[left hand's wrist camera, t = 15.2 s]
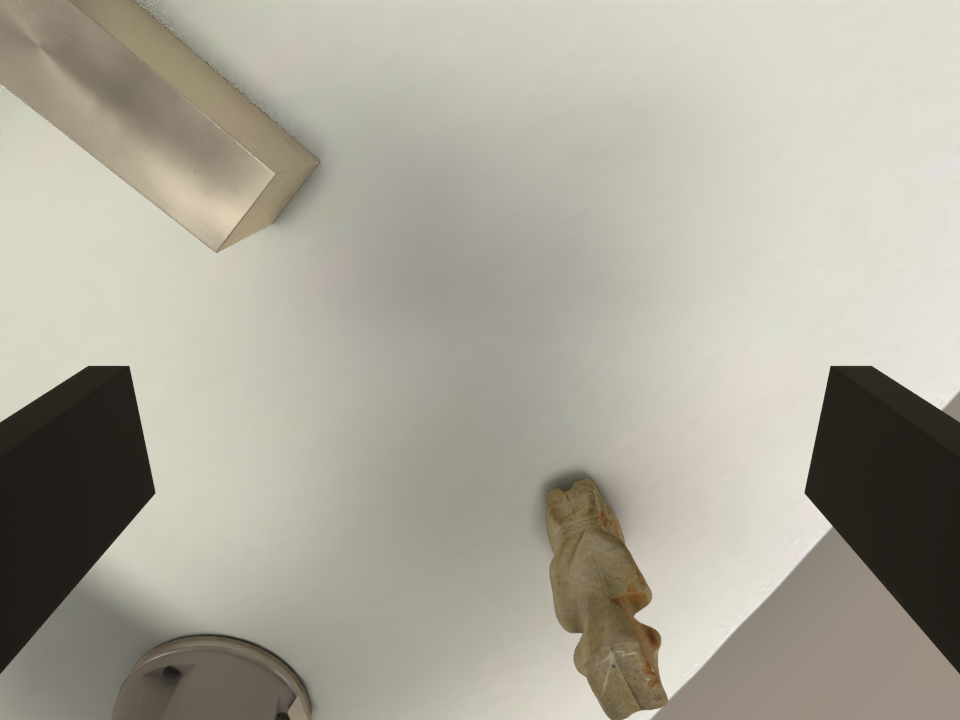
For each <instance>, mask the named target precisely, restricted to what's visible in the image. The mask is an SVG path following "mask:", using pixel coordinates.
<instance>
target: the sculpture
mask: <svg viewBox="0 0 960 720" xmlns="http://www.w3.org/2000/svg"><path fill="white" fill-rule="evenodd" d="M545 498H546V504H547V506H546V527H547V533H548V538H549V542H550V545H551V548H552V550H553V552H554V554H555V556H554V558H553V559H552V562H551V564H550V572H549V573H550V580H551V586H552V591H553V599H554V608H555V613H556V616H557V619H558V621H559V623H560V624H561V626H562V627H563V628H564V629H565V630H566V631H568V632H570V633H583V634H582V637H581V640H580V641H579V643H578V645H577V647H576V649H575V651H574V658H573V659H574V664H575V666H576V669H577V670H578V671H579V673H581V674H582V675H584V676H585V677H587V680H588V683H589V685H590V687H591V689H592V691H593V693H594V694H595V696H596V698H597V699H598V701H599V703H600V705H601V707H602V709H603V711H604V712H605V714H606V715H607V716H608V717H609V718H610V719H611V720H623V719H626V718H628V717H629V716H630V715H631V714H633V713H635V712H637V711H641V710H653V709H658V708H661V707H664V706H665V705H667V704H668V698H667V696H666V693H665V691H664V689H663V686H662V684H661V680H660V675H659V669H658V650H659V648H660V645H661V637H660V634H659V633H658V632H657V631H656V630H655V629H653V628H652V627H649V626H647V625H644V624H642V623H640V622H638V621H637V620H636V619H635V618H634V617H633V616H634V615H635V614H636V613H637V612H638V611H640V610H641V609H643V608H644V607H646V606H647V605H648V604H649V603H650V602H651V599H652V593H651V590H650V588H649V586H648V584H647V583H646V581H645V579H644V577H643V575H642V573H641V572H640V570H639V568H638V567H637V565H636V563H635V561H634V559H633V557H632V555H631V553H630V552H629V550H628V549H627V547H626V546H625V541H624V537H623V533H622V530H621V528H620V525H619V523H618V521H617V520H616V518H615V516H614V515H613V513H612V512H611V510H610V508H609V507H608V505H607V504H606V502H605V501H604V499H603V498H602V497H601V495H600V493H599V492H598V490H597V488H596V487H595V485H594V484H593V482H592V481H591V480H590V479H584V480H580V481H577V482H575V483H573V486H572V488H571V489H570V490H568V491H563V490H562V489H561V488H557V489H554V490H552V491H550V492H548V493H546V495H545Z"/></svg>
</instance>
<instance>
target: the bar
mask: <svg viewBox="0 0 960 720" xmlns="http://www.w3.org/2000/svg"><path fill="white" fill-rule="evenodd" d="M0 83H1V84H2V85H3V86H4V87H6V88H7V89H8V90H9V91H11V92H12V93H13V94H15V95H16V96H17V97H18V98H20V99H21V100H22V101H23V102H25V103H26V104H27V105H29V106H30V107H31V108H32V109H34V110H35V111H36V112H37V113H39V114H40V115H41V116H43V117H44V118H45V119H46V120H48V121H49V122H50V123H51V124H53V125H54V126H55V127H57V128H58V129H59V130H60V131H62V132H63V133H64V134H65V135H67V136H68V137H69V138H71V139H72V140H73V141H74V142H76V143H77V144H78V145H79V146H81V147H82V148H83V149H85V150H86V151H87V152H88V153H90V154H91V155H92V156H93V157H95V158H96V159H97V160H99V161H100V162H101V163H102V164H104V165H105V166H106V167H108V168H109V169H110V170H111V171H113V172H114V173H115V174H116V175H118V176H119V177H120V178H122V179H123V180H124V181H125V182H127V183H128V184H129V185H130V186H132V187H133V188H134V189H136V190H137V191H138V192H139V193H141V194H142V195H143V196H144V197H146V198H147V199H148V200H150V201H151V202H152V203H153V204H155V205H156V206H157V207H158V208H160V209H161V210H162V211H164V212H165V213H166V214H167V215H169V216H170V217H171V218H172V219H174V220H175V221H176V222H178V223H179V224H180V225H181V226H183V227H184V228H185V229H186V230H188V231H189V232H190V233H192V234H193V235H194V236H195V237H197V238H198V239H199V240H200V241H202V242H203V243H204V244H206V245H207V246H208V247H209V248H211V249H212V250H213V251H214V252H216V253H218V252H219V251H221V250H223V249H225V248H227V247H229V246H231V245H233V244H235V243H237V242H239V241H240V240H242V239H244V238H246V237H248V236H250V235H252V234H254V233H256V232H258V231H260V230H262V229H263V228H265V227H267V226H269V225H271V224H272V223H273V222H274V221H275V219H276V218H277V217H278V215H279V214H280V213H281V211H282V210H283V209H284V208H285V206H286V205H287V204H288V202H289V201H290V200H291V199H292V197H293V196H294V195H295V193H296V192H297V191H298V189H299V188H300V187H301V186H302V184H303V183H304V182H305V180H306V179H307V178H308V176H309V175H310V174H311V173H312V171H313V170H314V169H315V167H316V166H317V165H318V163H319V162H320V161H319V160H318V159H317V158H316V157H314V156H313V155H312V154H311V153H310V152H309V151H308V150H306V149H305V148H304V147H303V146H302V145H301V144H299V143H298V142H297V141H296V140H295V139H294V138H292V137H291V136H290V135H289V134H288V133H287V132H286V131H284V130H283V129H282V128H281V127H280V126H279V125H277V124H276V123H275V122H274V121H273V120H272V119H270V118H269V117H268V116H267V115H266V114H265V113H264V112H262V111H261V110H260V109H259V108H258V107H257V106H255V105H254V104H253V103H252V102H251V101H250V100H248V99H247V98H246V97H245V96H244V95H243V94H242V93H240V92H239V91H238V90H237V89H236V88H235V87H233V86H232V85H231V84H230V83H229V82H228V81H226V80H225V79H224V78H223V77H222V76H221V75H220V74H218V73H217V72H216V71H215V70H214V69H213V68H211V67H210V66H209V65H208V64H207V63H206V62H204V61H203V60H202V59H201V58H200V57H199V56H198V55H196V54H195V53H194V52H193V51H192V50H191V49H189V48H188V47H187V46H186V45H185V44H184V43H183V42H181V41H180V40H179V39H178V38H177V37H176V36H174V35H173V34H172V33H171V32H170V31H169V30H167V29H166V28H165V27H164V26H163V25H162V24H161V23H159V22H158V21H157V20H156V19H155V18H154V17H152V16H151V15H150V14H149V13H148V12H147V11H145V10H144V9H143V8H142V7H141V6H140V5H139V4H137V3H136V2H135V1H134V0H0Z"/></svg>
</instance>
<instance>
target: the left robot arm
mask: <svg viewBox="0 0 960 720" xmlns="http://www.w3.org/2000/svg"><path fill="white" fill-rule="evenodd" d="M154 494H155V488H154V483H153V478H152V474H151V469H150V464H149V459H148V454H147V449H146V445H145V440H144V435H143V430H142V425H141V420H140V415H139V411H138V406H137V401H136V396H135V391H134V386H133V382H132V377H131V372H130V367H129V366H88V367H86V368H84V369H83V370H81V371H80V372H78V373H77V374H75V375H74V376H72V377H70V378H69V379H67V380H66V381H64V382H63V383H61V384H60V385H58V386H56V387H55V388H53V389H52V390H50V391H49V392H47V393H45V394H44V395H42V396H41V397H39V398H38V399H36V400H35V401H33V402H31V403H30V404H28V405H27V406H25V407H24V408H22V409H21V410H19V411H17V412H16V413H14V414H13V415H11V416H10V417H8V418H6V419H5V420H3V421H2V422H0V674H1V672H2V671H3V670H4V669H5V668H6V667H7V665H8V664H9V663H10V662H11V661H12V660H13V658H14V657H15V656H16V655H17V654H18V653H19V651H20V650H21V649H22V648H23V647H24V646H25V644H26V643H27V642H28V641H29V640H30V639H31V637H32V636H33V635H34V634H35V633H36V632H37V630H38V629H39V628H40V627H41V626H42V625H43V624H44V622H45V621H46V620H47V619H48V618H49V617H50V615H51V614H52V613H53V612H54V611H55V610H56V608H57V607H58V606H59V605H60V604H61V603H62V601H63V600H64V599H65V598H66V597H67V596H68V594H69V593H70V592H71V591H72V590H73V589H74V587H75V586H76V585H77V584H78V583H79V582H80V580H81V579H82V578H83V577H84V576H85V575H86V573H87V572H88V571H89V570H90V569H91V568H92V566H93V565H94V564H95V563H96V562H97V561H98V559H99V558H100V557H101V556H102V555H103V554H104V552H105V551H106V550H107V549H108V548H109V547H110V545H111V544H112V543H113V542H114V541H115V540H116V538H117V537H118V536H119V535H120V534H121V533H122V531H123V530H124V529H125V528H126V527H127V526H128V525H129V523H130V522H131V521H132V520H133V519H134V518H135V516H136V515H137V514H138V513H139V512H140V511H141V509H142V508H143V507H144V506H145V505H146V504H147V502H148V501H149V500H150V499H151V498H152V497H153V495H154ZM805 494H806V495H807V497H808V498H809V499H810V500H811V501H812V502H813V504H814V505H815V506H816V507H817V508H818V509H819V511H820V512H821V513H822V514H823V515H824V516H825V518H826V519H827V520H828V521H829V522H830V523H831V525H832V526H833V527H834V528H835V529H836V530H837V531H838V533H839V534H840V535H841V536H842V537H843V538H844V540H845V541H846V542H847V543H848V544H849V545H850V547H851V548H852V549H853V550H854V551H855V552H856V554H857V555H858V556H859V557H860V558H861V559H862V561H863V562H864V563H865V564H866V565H867V566H868V568H869V569H870V570H871V571H872V572H873V573H874V575H875V576H876V577H877V578H878V579H879V580H880V582H881V583H882V584H883V585H884V586H885V587H886V589H887V590H888V591H889V592H890V593H891V594H892V596H893V597H894V598H895V599H896V600H897V601H898V603H899V604H900V605H901V606H902V607H903V608H904V610H905V611H906V612H907V613H908V614H909V615H910V617H911V618H912V619H913V620H914V621H915V622H916V623H917V625H918V626H919V627H920V628H921V629H922V630H923V632H924V633H925V634H926V635H927V636H928V637H929V639H930V640H931V641H932V642H933V643H934V644H935V646H936V647H937V648H938V649H939V650H940V651H941V653H942V654H943V655H944V656H945V657H946V658H947V660H948V661H949V662H950V663H951V664H952V665H953V667H954V668H955V669H956V670H957V671H958V672H959V674H960V422H958V421H957V420H955V419H954V418H952V417H950V416H949V415H947V414H946V413H944V412H943V411H941V410H939V409H938V408H936V407H935V406H933V405H932V404H930V403H929V402H927V401H925V400H924V399H922V398H921V397H919V396H918V395H916V394H915V393H913V392H911V391H910V390H908V389H907V388H905V387H904V386H902V385H900V384H899V383H897V382H896V381H894V380H893V379H891V378H890V377H888V376H886V375H885V374H883V373H882V372H880V371H879V370H877V369H876V368H874V367H872V366H831V367H830V372H829V377H828V382H827V386H826V391H825V396H824V401H823V406H822V411H821V415H820V420H819V425H818V430H817V435H816V440H815V445H814V449H813V454H812V459H811V464H810V469H809V474H808V478H807V483H806V488H805ZM111 720H311V708H310V702H309V699H308V696H307V693H306V691H305V689H304V687H303V685H302V683H301V682H300V680H299V679H298V678H297V676H296V675H295V674H294V673H293V672H292V671H291V670H290V669H289V668H288V667H287V666H286V665H285V664H284V663H283V662H281V661H280V660H279V659H277V658H276V657H274V656H273V655H271V654H270V653H268V652H266V651H264V650H262V649H260V648H258V647H256V646H254V645H251V644H248V643H246V642H242V641H239V640H235V639H230V638H225V637H217V636H194V637H186V638H180V639H177V640H173V641H170V642H167V643H164V644H162V645H160V646H158V647H156V648H154V649H153V650H151V651H150V652H148V653H147V654H146V655H144V656H143V657H142V658H141V659H140V660H139V661H138V662H137V664H136V665H135V666H134V668H133V669H132V671H131V672H130V674H129V676H128V677H127V679H126V680H125V682H124V684H123V685H122V687H121V689H120V692H119V695H118V697H117V700H116V702H115V706H114V710H113V714H112V719H111Z"/></svg>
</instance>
